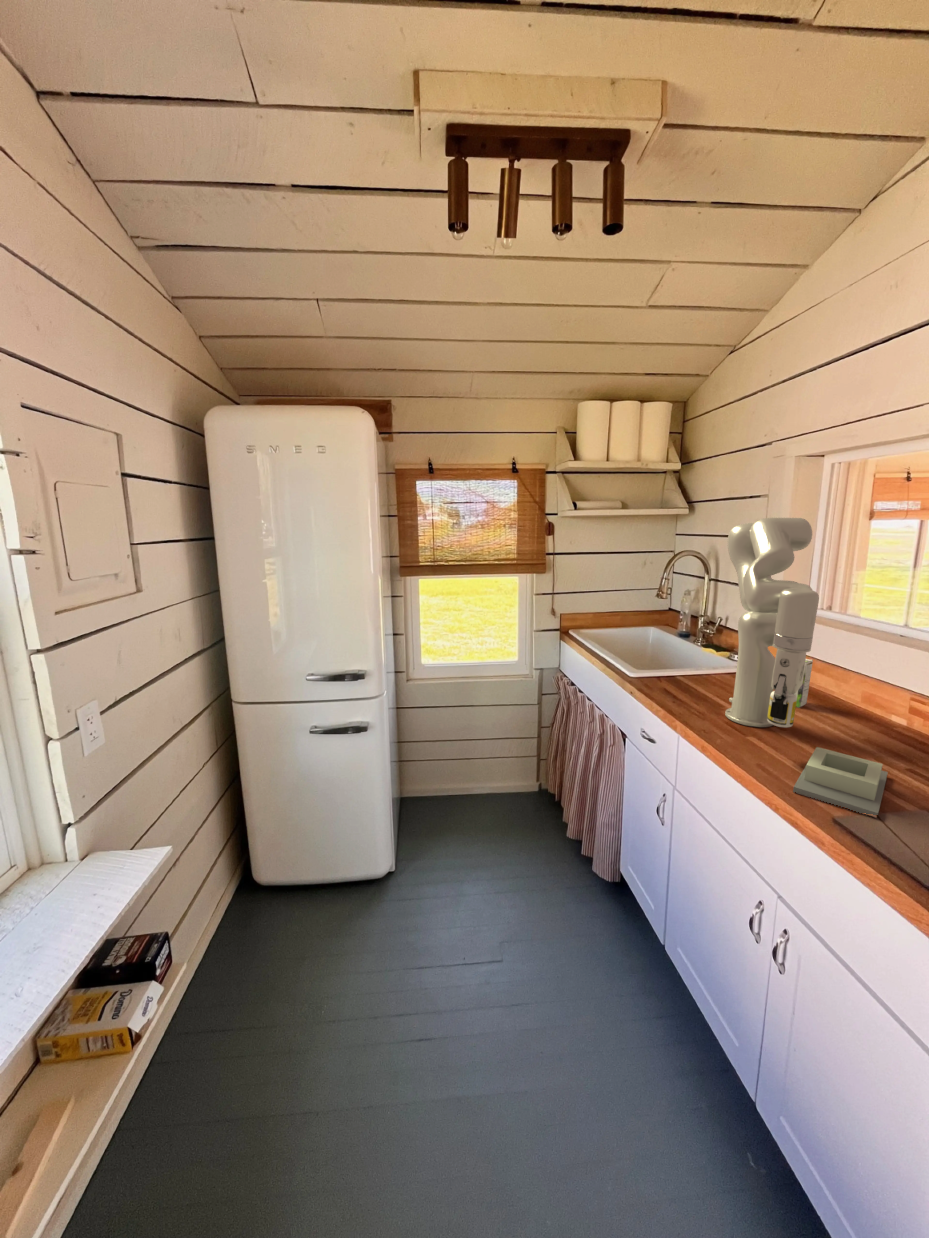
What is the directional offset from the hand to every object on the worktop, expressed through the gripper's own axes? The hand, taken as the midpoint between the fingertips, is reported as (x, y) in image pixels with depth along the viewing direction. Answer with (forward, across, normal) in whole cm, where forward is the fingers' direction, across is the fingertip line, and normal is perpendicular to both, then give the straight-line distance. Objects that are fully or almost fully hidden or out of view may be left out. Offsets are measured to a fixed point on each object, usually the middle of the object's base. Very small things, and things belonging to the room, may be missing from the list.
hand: (781, 713), depth 122 cm
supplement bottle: (+3, 0, 0) cm, 3 cm away
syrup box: (+13, +43, +4) cm, 45 cm away
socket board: (+10, -6, -14) cm, 19 cm away
